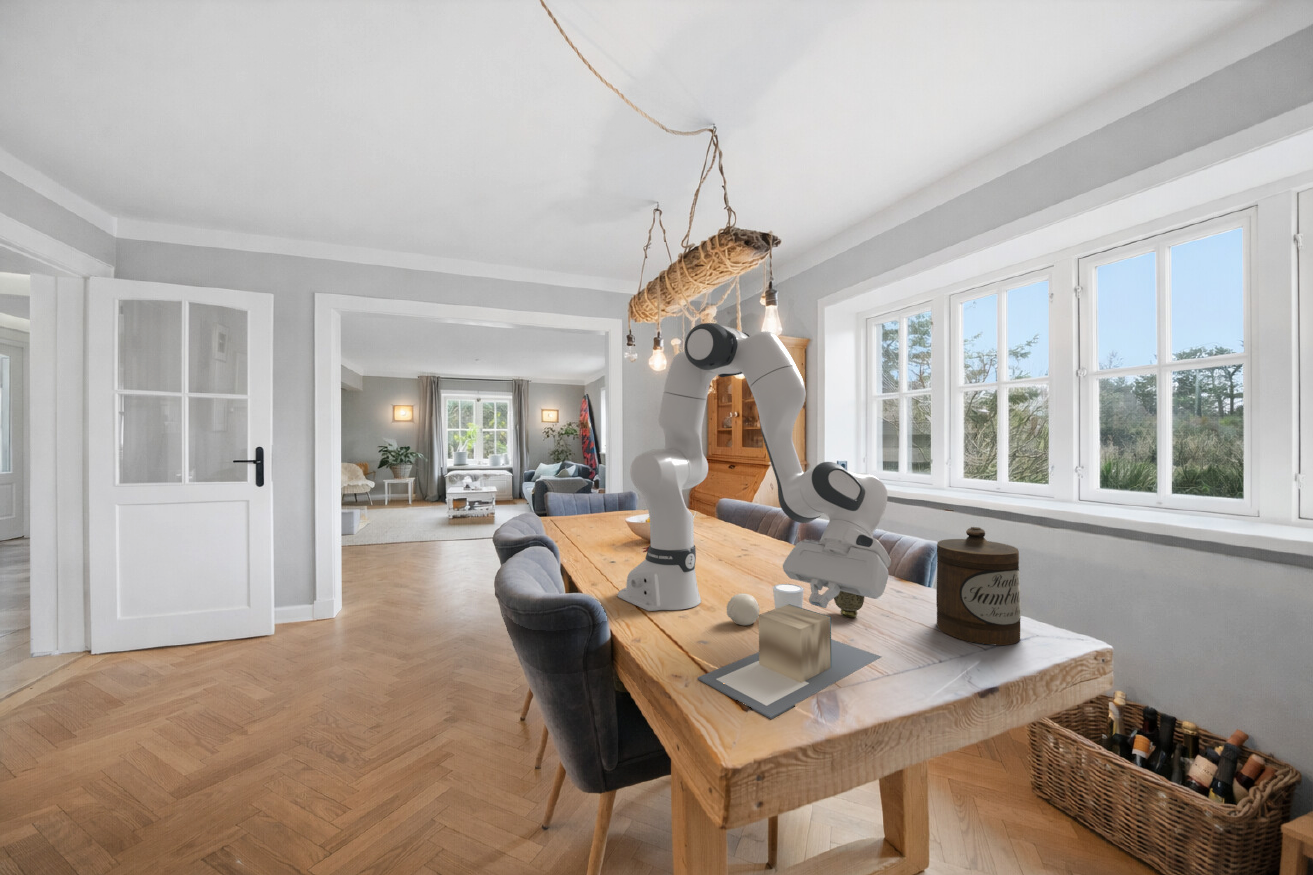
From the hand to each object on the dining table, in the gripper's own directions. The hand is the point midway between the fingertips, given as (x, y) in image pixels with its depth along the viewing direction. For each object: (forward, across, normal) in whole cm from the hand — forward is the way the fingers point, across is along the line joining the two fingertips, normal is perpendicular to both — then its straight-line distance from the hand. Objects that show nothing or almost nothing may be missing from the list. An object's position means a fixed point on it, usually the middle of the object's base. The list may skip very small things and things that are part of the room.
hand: (816, 604), depth 94 cm
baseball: (+6, -21, +8) cm, 23 cm away
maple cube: (+5, 0, +2) cm, 6 cm away
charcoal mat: (+12, 0, +2) cm, 12 cm away
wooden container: (-18, +14, +33) cm, 40 cm away
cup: (-10, -8, +24) cm, 28 cm away
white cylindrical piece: (-2, -16, +16) cm, 23 cm away
